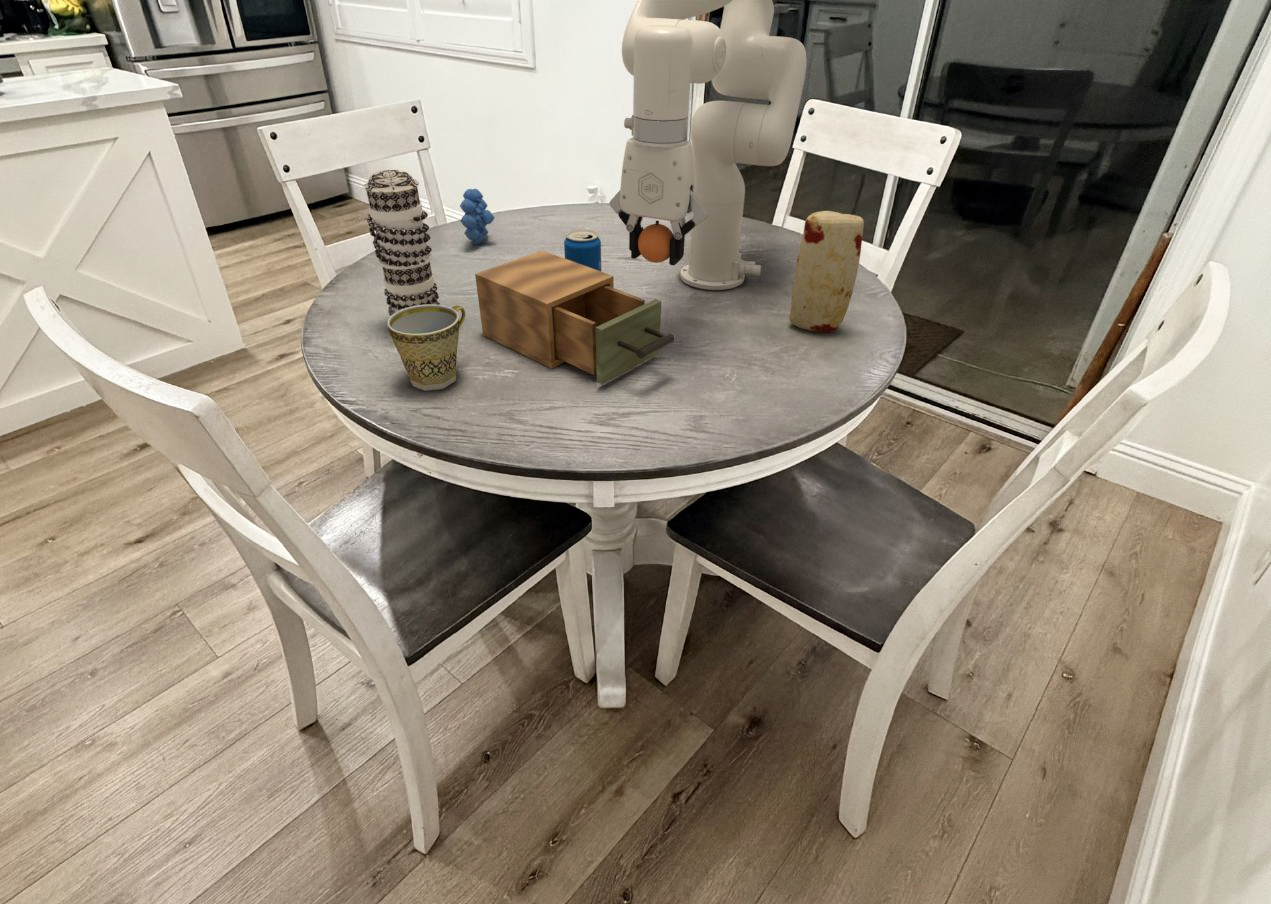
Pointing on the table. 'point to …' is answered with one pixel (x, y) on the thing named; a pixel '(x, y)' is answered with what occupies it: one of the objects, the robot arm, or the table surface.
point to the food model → (826, 270)
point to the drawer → (608, 332)
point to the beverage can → (583, 248)
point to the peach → (655, 242)
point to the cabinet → (531, 300)
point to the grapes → (475, 215)
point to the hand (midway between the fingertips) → (656, 258)
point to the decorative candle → (401, 239)
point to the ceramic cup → (427, 343)
